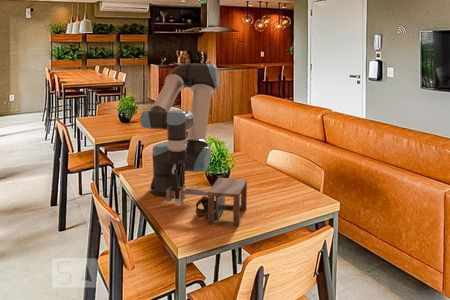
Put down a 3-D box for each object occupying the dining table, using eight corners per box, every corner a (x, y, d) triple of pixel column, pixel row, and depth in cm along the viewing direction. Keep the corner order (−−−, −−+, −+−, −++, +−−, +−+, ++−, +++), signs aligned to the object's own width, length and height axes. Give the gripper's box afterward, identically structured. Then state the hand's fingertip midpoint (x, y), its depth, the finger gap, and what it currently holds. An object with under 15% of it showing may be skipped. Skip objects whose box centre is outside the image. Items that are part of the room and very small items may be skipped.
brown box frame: (165, 214, 170) (164, 191, 168) (175, 203, 182) (174, 181, 179) (218, 219, 166) (217, 195, 163) (224, 207, 177) (224, 185, 174)
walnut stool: (208, 224, 164) (207, 192, 160) (218, 206, 181) (218, 177, 177) (238, 226, 161) (238, 194, 158) (246, 209, 178) (246, 179, 175)
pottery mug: (224, 217, 171) (217, 203, 166) (204, 229, 170) (196, 215, 165) (215, 200, 181) (208, 187, 176) (195, 211, 180) (188, 198, 175)
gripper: (180, 154, 161) (182, 211, 167) (191, 145, 175) (192, 198, 181) (162, 153, 162) (164, 210, 168) (174, 144, 177) (176, 197, 182)
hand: (179, 204), depth 174 cm, fingers closed on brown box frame, 2 cm apart
